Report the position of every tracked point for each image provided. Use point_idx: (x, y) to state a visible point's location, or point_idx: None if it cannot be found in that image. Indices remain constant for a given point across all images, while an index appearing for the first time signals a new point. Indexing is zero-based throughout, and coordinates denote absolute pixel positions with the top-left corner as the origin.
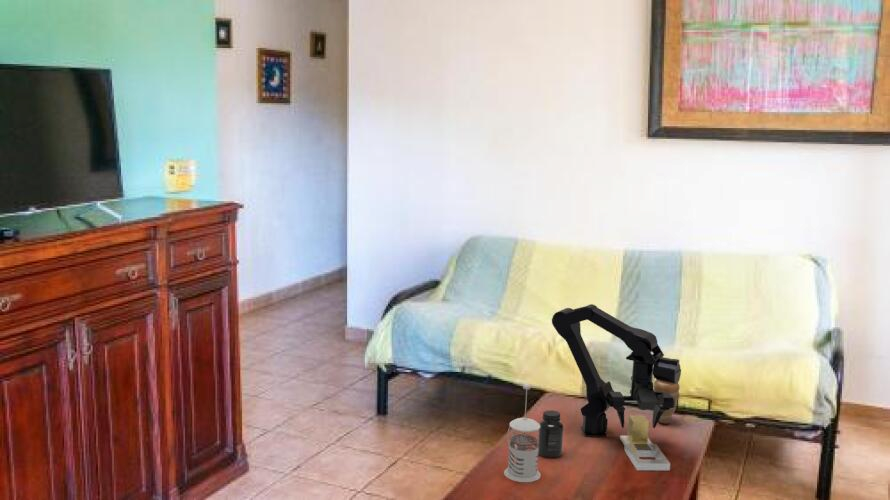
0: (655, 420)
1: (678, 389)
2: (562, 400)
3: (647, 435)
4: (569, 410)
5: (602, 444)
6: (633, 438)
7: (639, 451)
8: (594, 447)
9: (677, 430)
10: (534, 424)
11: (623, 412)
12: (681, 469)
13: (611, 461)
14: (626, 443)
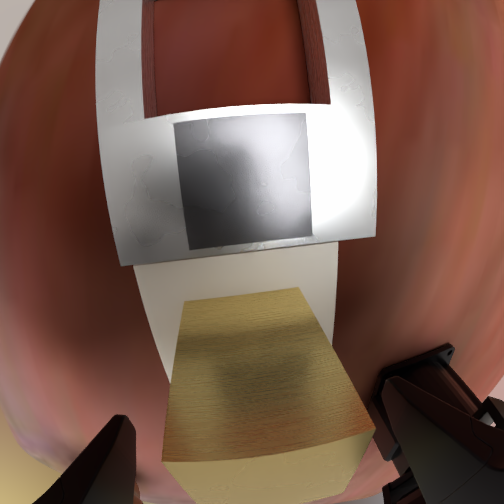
0: (98, 469)
1: None
2: (373, 488)
3: (179, 344)
4: (387, 467)
5: (429, 284)
6: (299, 312)
7: (287, 105)
8: (467, 243)
9: (67, 436)
10: None
11: (495, 462)
12: (52, 8)
13: (437, 72)
14: (327, 296)
